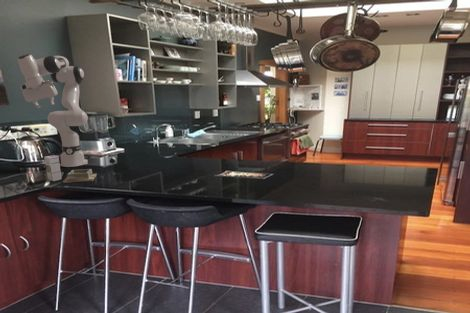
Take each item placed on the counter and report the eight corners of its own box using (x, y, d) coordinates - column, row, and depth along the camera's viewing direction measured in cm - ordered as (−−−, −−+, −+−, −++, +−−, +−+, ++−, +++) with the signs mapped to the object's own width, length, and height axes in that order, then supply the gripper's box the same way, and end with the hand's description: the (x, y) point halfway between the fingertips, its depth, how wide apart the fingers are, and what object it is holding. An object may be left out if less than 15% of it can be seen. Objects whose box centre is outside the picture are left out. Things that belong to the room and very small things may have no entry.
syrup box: (62, 179, 199) (59, 155, 196) (52, 181, 194) (49, 157, 191) (56, 178, 202) (53, 154, 199) (47, 180, 197) (43, 156, 194)
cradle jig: (69, 176, 204) (68, 169, 203) (96, 175, 207) (96, 168, 206) (63, 182, 191) (62, 175, 190) (92, 180, 194) (91, 173, 193)
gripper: (54, 78, 192) (64, 101, 196) (25, 86, 196) (35, 108, 201) (47, 80, 186) (57, 103, 190) (17, 87, 190) (28, 110, 195)
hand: (45, 106), depth 195 cm, fingers open, 8 cm apart
